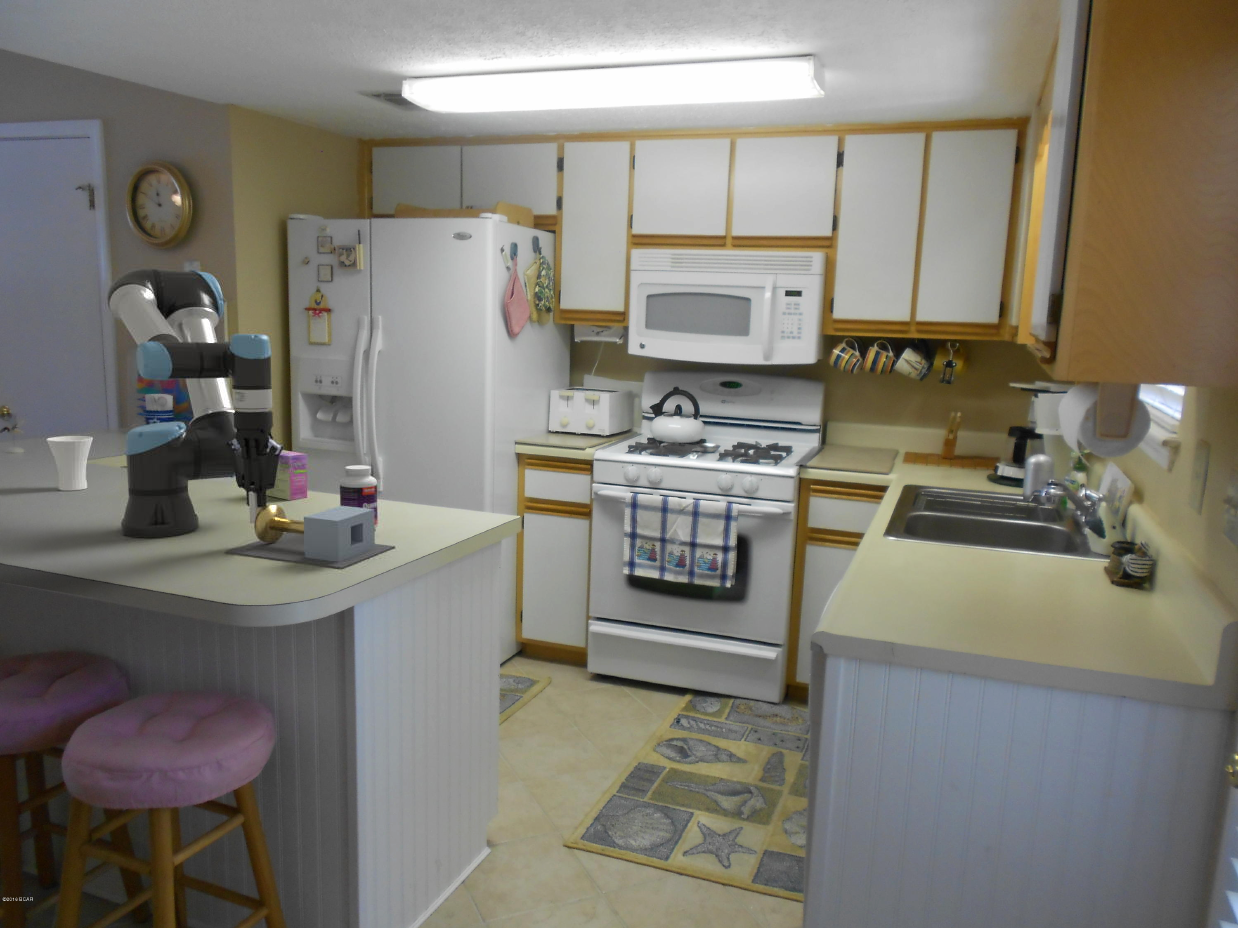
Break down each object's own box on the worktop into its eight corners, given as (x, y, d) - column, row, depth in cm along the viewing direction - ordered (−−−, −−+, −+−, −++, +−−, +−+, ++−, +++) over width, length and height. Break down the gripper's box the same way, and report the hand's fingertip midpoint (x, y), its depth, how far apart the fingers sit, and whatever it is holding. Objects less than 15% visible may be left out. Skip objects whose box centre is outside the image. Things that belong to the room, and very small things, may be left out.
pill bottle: (367, 535, 198) (366, 471, 196) (333, 532, 199) (332, 468, 197) (384, 527, 206) (383, 465, 203) (351, 524, 207) (350, 463, 205)
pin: (255, 545, 184) (253, 508, 183) (280, 537, 191) (279, 501, 190) (329, 555, 178) (328, 517, 177) (352, 546, 185) (352, 509, 184)
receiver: (304, 558, 178) (303, 516, 176) (342, 545, 189) (341, 505, 188) (338, 563, 175) (337, 520, 174) (374, 549, 186) (374, 509, 185)
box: (308, 497, 236) (307, 453, 234) (290, 500, 232) (288, 455, 230) (282, 492, 242) (281, 449, 240) (264, 495, 237) (263, 451, 235)
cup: (80, 493, 233) (77, 441, 231) (40, 491, 233) (37, 440, 231) (104, 485, 244) (101, 436, 242) (66, 484, 244) (62, 435, 242)
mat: (225, 552, 180) (224, 551, 180) (285, 533, 197) (285, 532, 197) (342, 568, 171) (342, 567, 171) (395, 547, 188) (395, 546, 188)
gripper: (214, 409, 183) (219, 522, 186) (265, 412, 178) (270, 528, 182) (240, 406, 190) (245, 515, 193) (291, 409, 185) (295, 521, 189)
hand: (257, 521), depth 188 cm, fingers closed
